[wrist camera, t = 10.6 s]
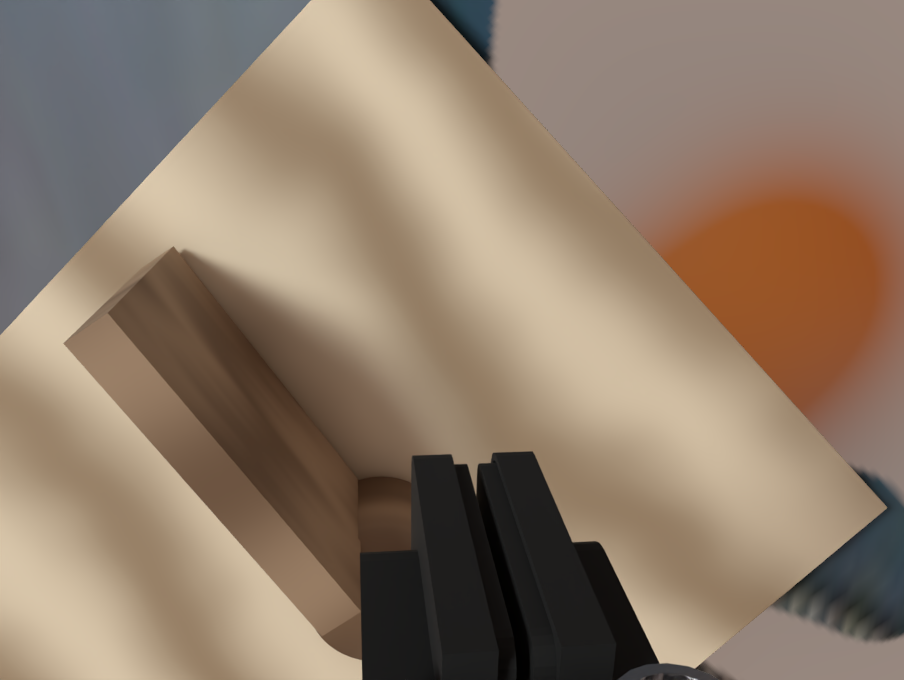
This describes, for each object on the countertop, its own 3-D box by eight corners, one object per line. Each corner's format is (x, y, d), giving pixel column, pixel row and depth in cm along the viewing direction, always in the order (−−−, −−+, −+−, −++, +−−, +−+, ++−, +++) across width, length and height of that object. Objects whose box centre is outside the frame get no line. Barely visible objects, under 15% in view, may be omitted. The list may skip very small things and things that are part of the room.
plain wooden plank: (97, 298, 25) (4, 383, 19) (217, 215, 25) (167, 271, 18) (516, 793, 33) (557, 978, 26) (613, 735, 32) (679, 908, 26)
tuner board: (370, -59, 24) (371, -66, 23) (868, 492, 32) (890, 510, 31) (-180, 533, 28) (-207, 557, 27) (383, 899, 36) (384, 932, 34)
